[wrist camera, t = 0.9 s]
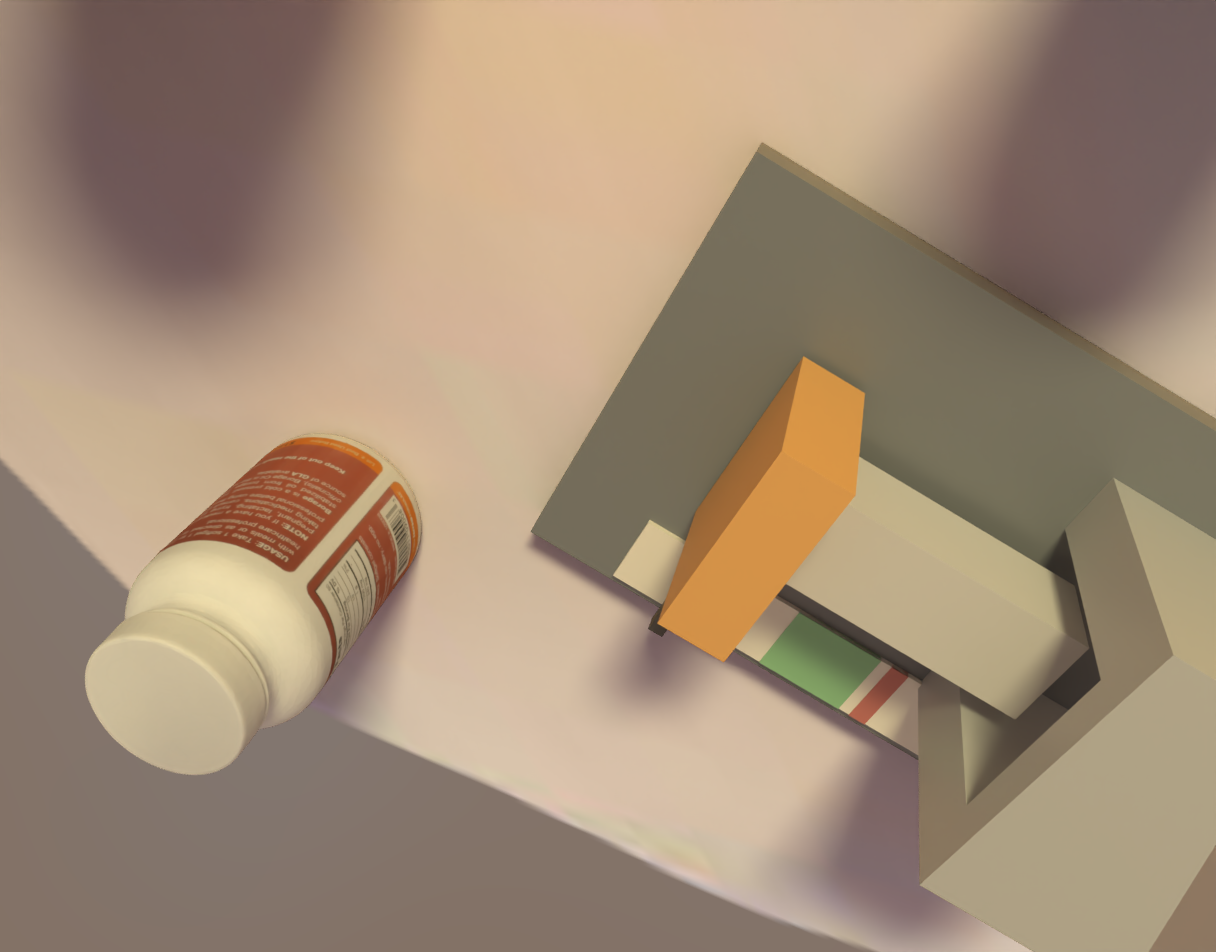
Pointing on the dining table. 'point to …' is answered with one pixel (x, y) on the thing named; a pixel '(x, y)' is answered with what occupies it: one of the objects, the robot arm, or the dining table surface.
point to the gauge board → (980, 494)
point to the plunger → (865, 556)
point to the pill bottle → (254, 604)
